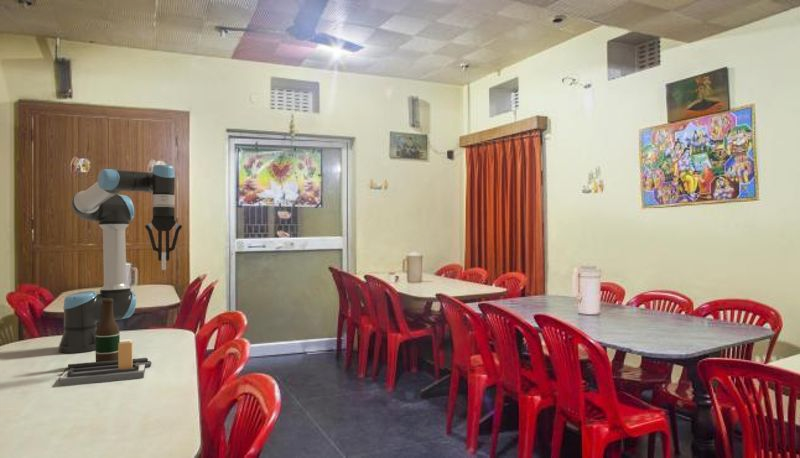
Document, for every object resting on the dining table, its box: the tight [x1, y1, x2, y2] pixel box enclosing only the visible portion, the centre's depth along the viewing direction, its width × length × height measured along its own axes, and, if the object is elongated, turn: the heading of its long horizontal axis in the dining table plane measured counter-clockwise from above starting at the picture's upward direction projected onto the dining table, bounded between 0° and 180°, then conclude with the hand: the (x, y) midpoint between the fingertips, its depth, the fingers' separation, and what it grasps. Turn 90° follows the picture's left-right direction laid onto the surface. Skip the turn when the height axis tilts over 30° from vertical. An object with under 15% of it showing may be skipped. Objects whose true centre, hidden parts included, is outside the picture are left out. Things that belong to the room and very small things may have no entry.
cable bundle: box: [63, 357, 152, 374], centre depth 191 cm, size 27×4×3 cm, turn 113°
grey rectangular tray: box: [58, 362, 146, 387], centre depth 182 cm, size 12×24×3 cm, turn 113°
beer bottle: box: [95, 298, 121, 362], centre depth 200 cm, size 8×8×24 cm
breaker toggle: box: [118, 338, 134, 370], centre depth 184 cm, size 4×4×10 cm
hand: (163, 269), depth 203 cm, fingers closed
